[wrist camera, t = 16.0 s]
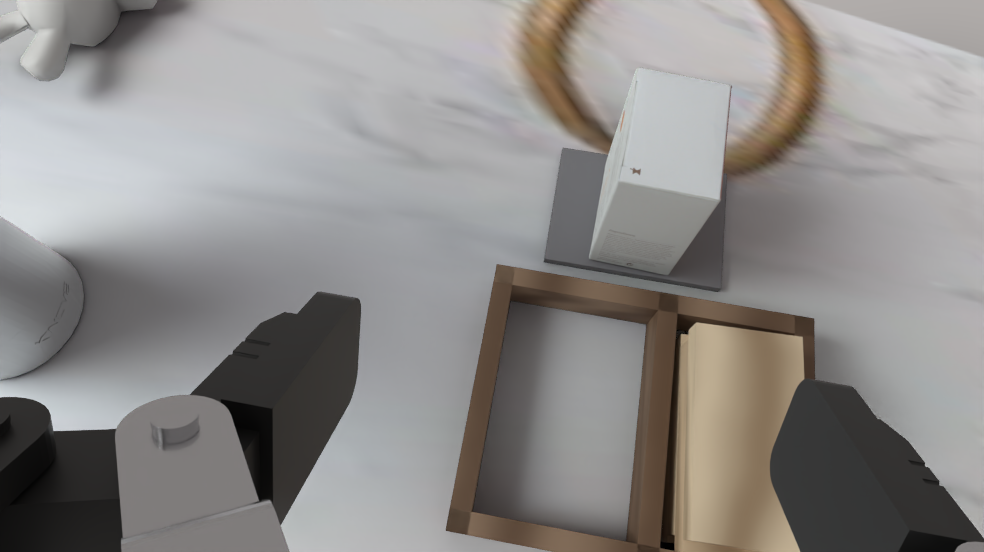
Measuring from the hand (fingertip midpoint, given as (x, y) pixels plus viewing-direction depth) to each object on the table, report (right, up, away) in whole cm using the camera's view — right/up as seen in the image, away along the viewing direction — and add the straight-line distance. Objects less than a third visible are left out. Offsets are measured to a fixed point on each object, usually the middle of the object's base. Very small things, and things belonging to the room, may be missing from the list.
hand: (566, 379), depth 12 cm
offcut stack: (+12, -9, +28) cm, 32 cm away
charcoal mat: (+9, +6, +33) cm, 35 cm away
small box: (+9, +6, +33) cm, 34 cm away
